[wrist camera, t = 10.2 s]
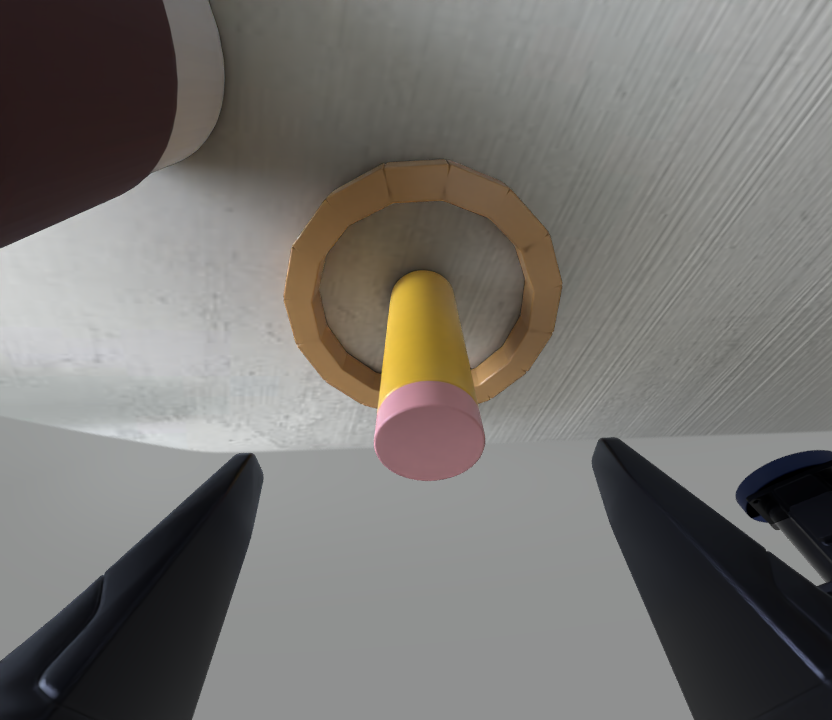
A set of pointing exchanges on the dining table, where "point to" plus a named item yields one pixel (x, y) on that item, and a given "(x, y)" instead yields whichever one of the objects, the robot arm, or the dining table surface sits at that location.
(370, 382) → the wooden ring
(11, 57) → the coffee cup
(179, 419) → the dining table surface
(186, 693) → the robot arm
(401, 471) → the pencil stub
